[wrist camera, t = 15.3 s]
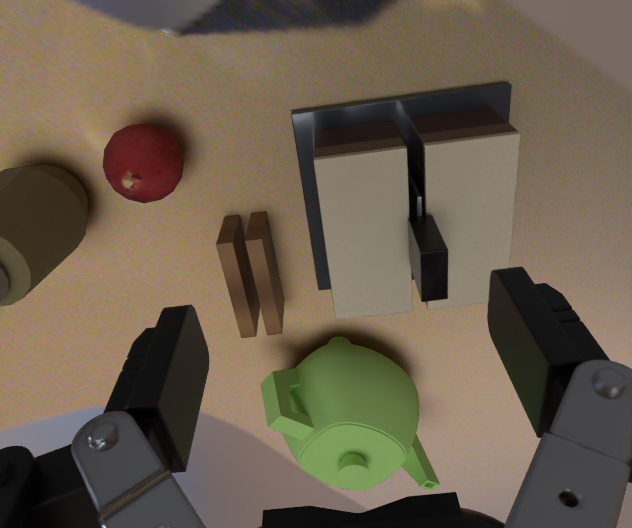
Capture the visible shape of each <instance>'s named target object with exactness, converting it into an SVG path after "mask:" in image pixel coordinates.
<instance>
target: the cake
mask: <svg viewBox="0 0 632 528" xmlns="http://www.w3.org/2000/svg"><path fill="white" fill-rule="evenodd" d="M510 99H511V84H510V83H509V82H500V83H493V84H485V85H478V86H471V87H463V88H456V89H449V90H441V91H434V92H426V93H419V94H412V95H404V96H397V97H390V98H382V99H375V100H367V101H360V102H353V103H345V104H338V105H331V106H323V107H316V108H308V109H301V110H294V111H292V112H291V116H292V123H293V129H294V136H295V142H296V149H297V155H298V161H299V168H300V174H301V181H302V187H303V193H304V200H305V206H306V213H307V219H308V225H309V232H310V238H311V245H312V251H313V257H314V264H315V270H316V277H317V283H318V290H326V289H332V296H333V304H334V311H335V318H336V319H345V318H354V317H363V316H372V315H381V314H390V313H399V312H408V311H413V301H412V280H414V276H413V273H412V270H411V267H410V263H409V240H408V218H410V217H409V189H408V168H409V170H410V173H411V175H412V177H413V179H414V182H415V184H416V186H417V188H418V190H419V193H420V195H421V201H422V216H426V215H432V216H433V218H434V220H435V222H436V224H437V226H438V229H439V231H440V233H441V235H442V237H443V239H444V242H445V244H446V246H447V248H448V299H444V300H435V301H426V302H425V303H426V305H427V308H428V309H435V308H444V307H453V306H462V305H471V304H480V303H488V299H489V284H490V274H491V271H492V270H496V269H505V268H509V263H510V251H511V239H512V228H513V216H514V205H515V193H516V181H517V170H518V158H519V147H520V135H521V134H520V133H519V132H518V131H517V130H516V129H515V128H514V127H513V126H512V125H510V124H509V112H510Z"/></svg>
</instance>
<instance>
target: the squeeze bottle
mask: <svg viewBox="0 0 632 528" xmlns="http://www.w3.org/2000/svg"><path fill="white" fill-rule="evenodd" d="M87 210H88V197H87V195H86V192H85V190H84V187H83V186H82V185H81V183H80V182H79V181H78V180H77V179H76V178H75V177H74V176H73V175H72V174H70V173H68V172H67V171H65V170H64V169H62V168H59V167H55V166H51V165H47V164H45V165H36V166H28V167H20V168H12V169H4V170H3V171H1V172H0V306H6V305H11V304H13V303H15V302H17V301H19V300H21V299H22V298H24V297H25V296H26V295H27V294H28V293H29V292H30V291H31V290H32V289H34V288H35V287H36V286H37V285H38V284H39V283H40V282H41V281H42V280H43V279H44V278H45V277H46V276H47V275H48V274H49V273H51V272H52V271H53V270H54V269H55V268H56V267H57V266H58V265H59V264H60V263H61V262H62V261H63V260H64V259H65V258H67V257H68V256H69V255H70V254H71V253H72V252H73V251H74V250H75V249H76V248H77V247H78V245H79V244H80V242H81V241H82V239H83V238H84V236H85V235H86V223H87Z"/></svg>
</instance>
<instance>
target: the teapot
mask: <svg viewBox="0 0 632 528" xmlns="http://www.w3.org/2000/svg"><path fill="white" fill-rule="evenodd" d="M261 388H262V395H263V401H264V407H265V413H266V419H267V425H268V428H271V429H273V430H276V431H279V432H281V433H283V436H284V438H285V441H286V443H287V445H288V446H289V448H290V450H291V452H292V454H293V455H294V457H295V459H296V460H297V462H298V463H299V465H300V466H301V467H302V468H303V469H304V470H305V471H306V472H307V473H308V474H310V475H312V476H313V477H315V478H316V479H318V480H320V481H322V482H324V483H326V484H329V485H332V486H335V487H339V488H343V489H348V490H366V489H370V488H372V487H374V486H376V485H378V484H380V483H381V482H383V481H384V480H385V479H387V478H388V477H389V476H391V475H392V474H393V473H394V472H395V471H396V470H398V469H399V467H400V466H401V467H402V468H403V469H404V470H405V471H406V472H407V473H408V474H409V475H410V476H411V477H412V478H413V479H414V480H415V481H416V482H417V483H418V484H419V486H420V487H422V488H425V489H428V490H431V491H432V490H433V489H434V488H436V487H437V486H438V485H439V481H438V479H437V477H436V475H435V472H434V470H433V468H432V466H431V464H430V462H429V460H428V458H427V456H426V454H425V451H424V449H423V447H422V445H421V443H420V441H419V439H418V437H417V435H416V431H417V426H418V419H419V399H418V393H417V389H416V387H415V385H414V383H413V381H412V380H411V378H410V377H409V376H408V375H407V373H406V372H405V371H404V370H403V369H402V368H401V367H400V366H398V365H397V364H396V363H394V362H393V361H392V360H390V359H388V358H387V357H385V356H383V355H382V354H380V353H378V352H375V351H373V350H371V349H368V348H365V347H362V346H358V345H353V344H351V343H350V341H349V340H348V339H347V338H344V337H334V338H332V339H331V340H330V341H329V342H328V344H327V345H324V346H322V347H320V348H318V349H317V350H316V351H314V352H313V353H311V354H310V355H309V356H308V357H306V358H305V359H304V360H303V361H302V362H301V363H300V364H299V365H298V366H297V367H296V368H294V369H287V370H281V371H274V372H272V373H271V374H270V375H269V376H268V377H267V378H266V379H265V380H264V381H263V382H262V383H261Z"/></svg>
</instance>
